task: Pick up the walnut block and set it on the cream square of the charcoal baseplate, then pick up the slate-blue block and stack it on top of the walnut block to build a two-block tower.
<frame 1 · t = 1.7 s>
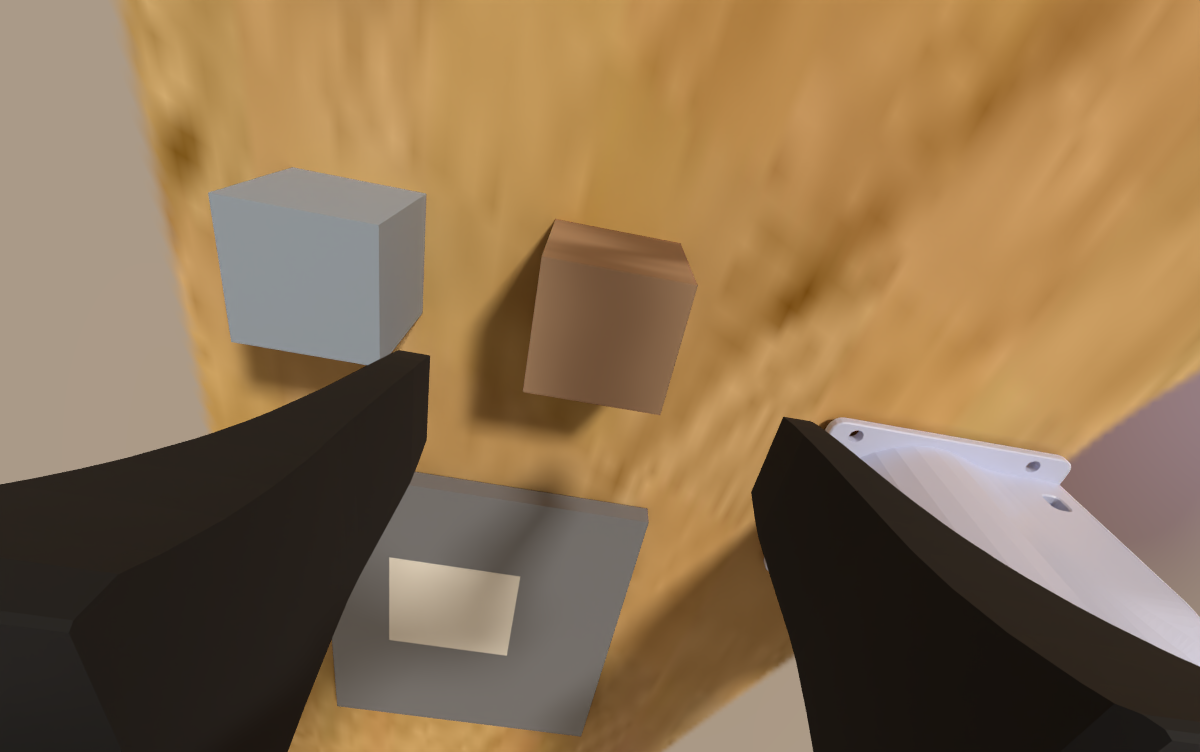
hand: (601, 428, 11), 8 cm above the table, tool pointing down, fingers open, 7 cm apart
walnut block: (606, 289, 18), on the table
baseplate: (475, 611, 26), on the table
slate block: (362, 244, 18), on the table
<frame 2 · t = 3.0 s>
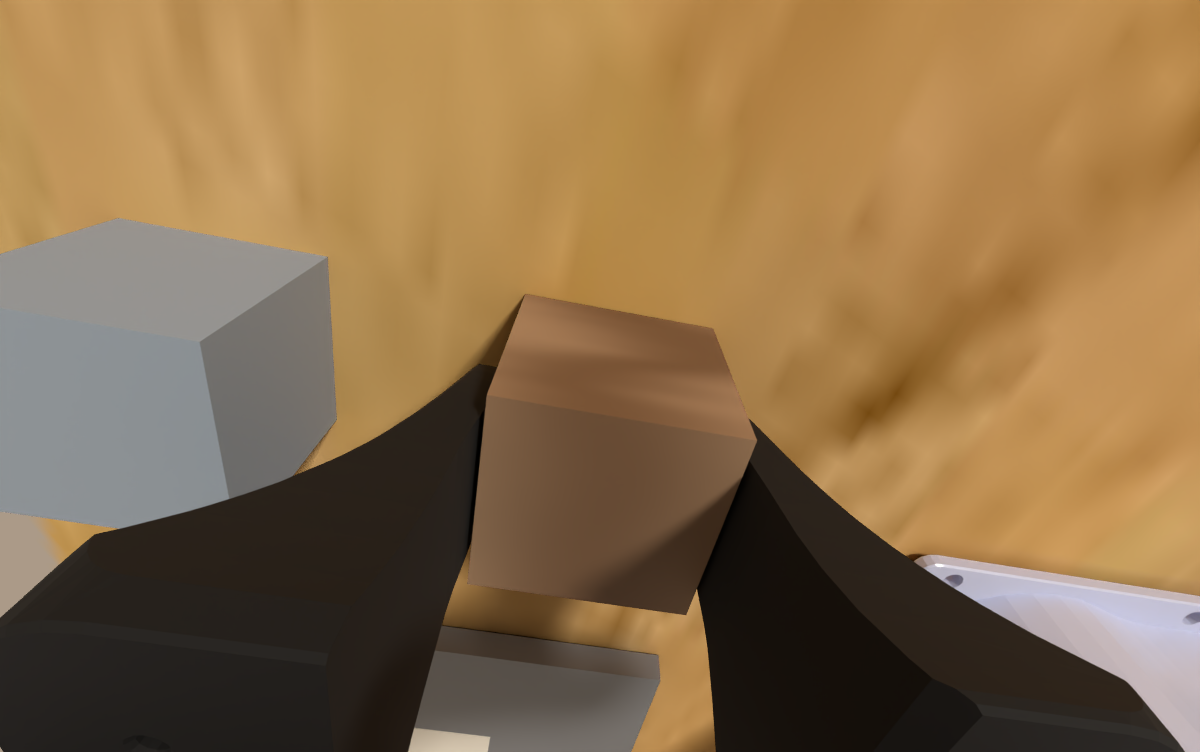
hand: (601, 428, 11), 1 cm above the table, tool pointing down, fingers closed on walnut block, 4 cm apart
walnut block: (602, 392, 12), on the table, touching gripper
slate block: (240, 326, 12), on the table
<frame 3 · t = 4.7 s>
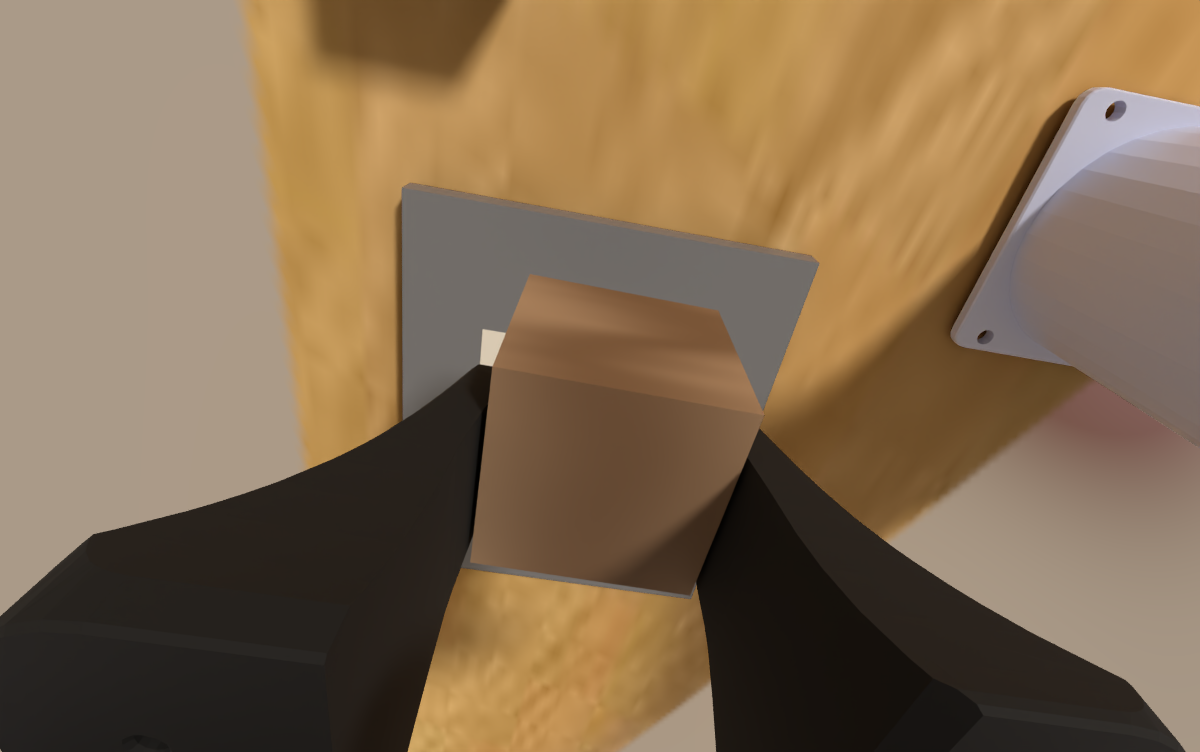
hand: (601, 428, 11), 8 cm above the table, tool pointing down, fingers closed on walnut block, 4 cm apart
walnut block: (606, 374, 12), point 7 cm above the table, touching gripper
baseplate: (577, 424, 21), on the table
when the fingers open (3 cm above the table, at t = 6.5 s): walnut block stays where it is, resting on baseplate.
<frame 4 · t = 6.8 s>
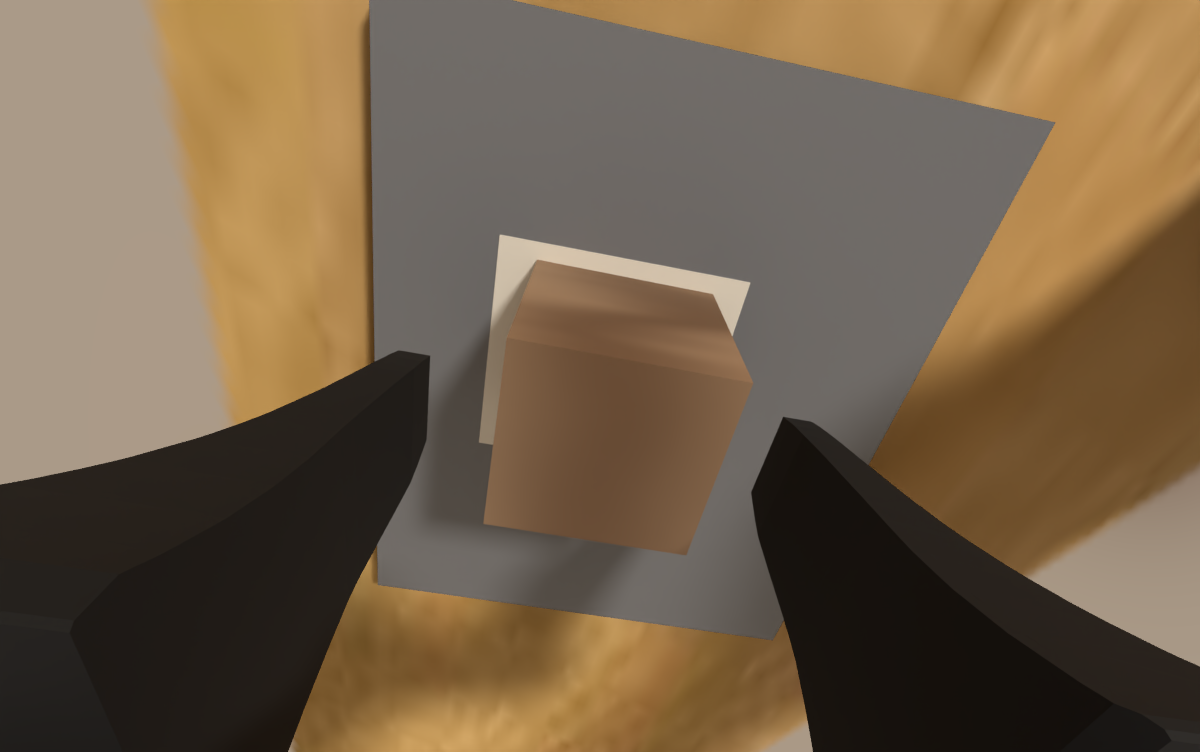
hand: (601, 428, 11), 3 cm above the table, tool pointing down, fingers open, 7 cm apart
walnut block: (608, 355, 13), point 1 cm above the table, touching baseplate
baseplate: (633, 393, 15), on the table
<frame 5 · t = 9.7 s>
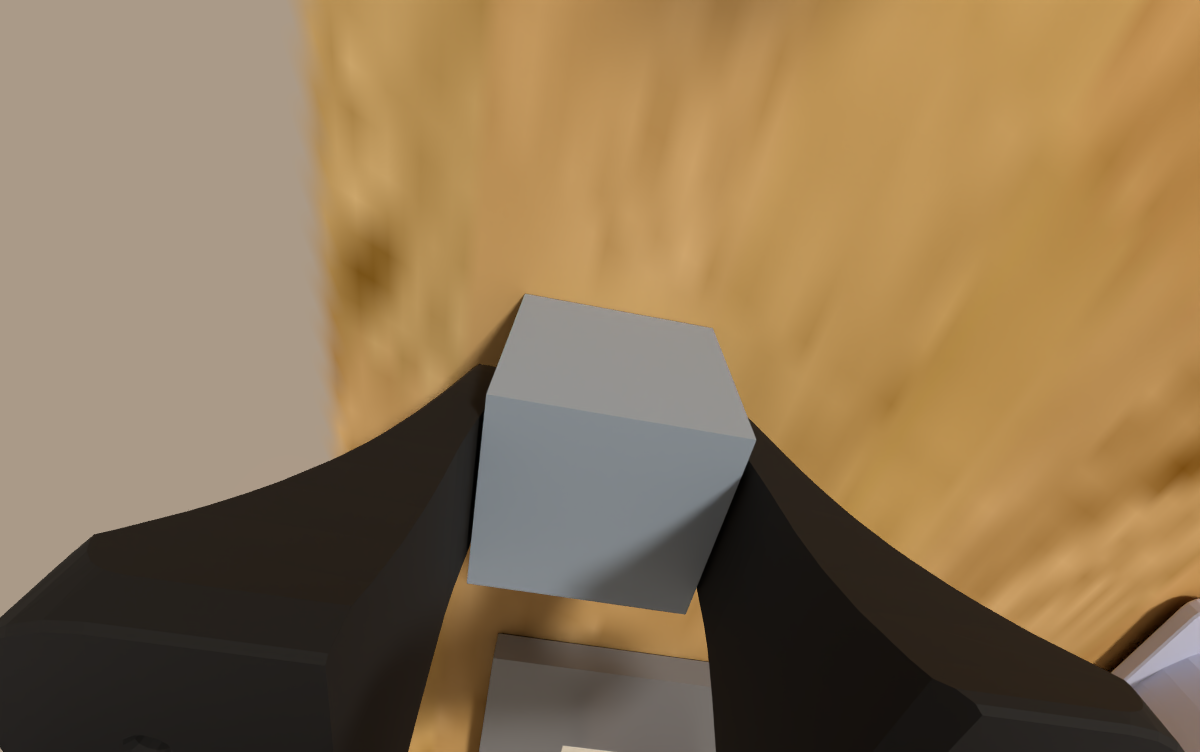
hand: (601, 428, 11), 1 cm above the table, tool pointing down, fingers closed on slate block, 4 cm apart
slate block: (602, 391, 12), on the table, touching gripper
when the fingers open (7 cm above the table, at t = 12.7 s): slate block stays where it is, resting on walnut block.
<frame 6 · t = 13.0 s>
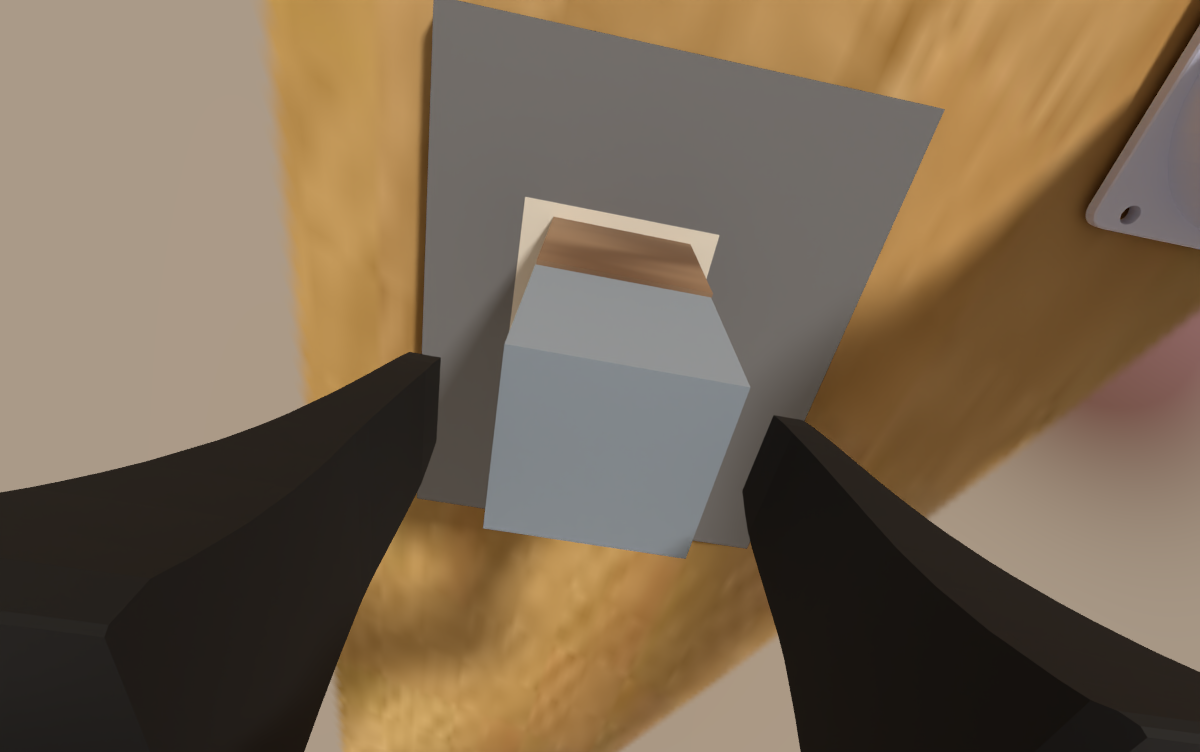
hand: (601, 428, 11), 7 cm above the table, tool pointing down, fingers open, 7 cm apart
walnut block: (608, 295, 17), point 1 cm above the table, touching baseplate, slate block
baseplate: (628, 331, 18), on the table
slate block: (606, 359, 13), point 5 cm above the table, touching walnut block
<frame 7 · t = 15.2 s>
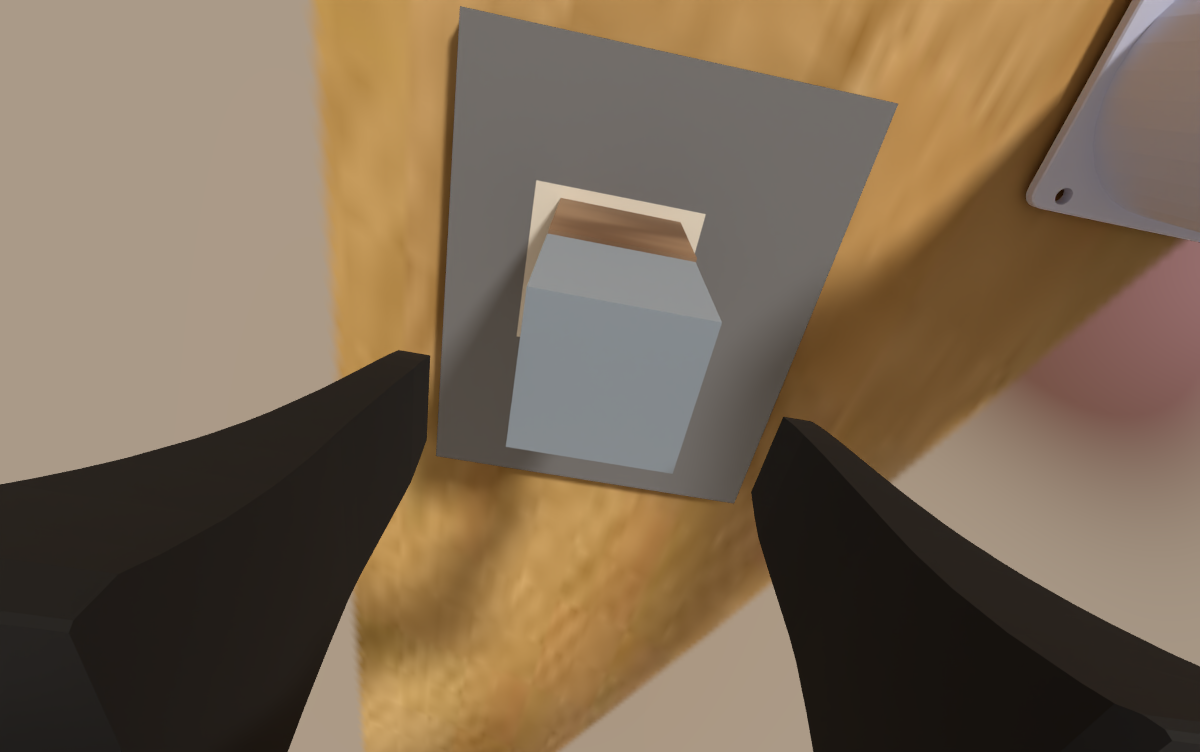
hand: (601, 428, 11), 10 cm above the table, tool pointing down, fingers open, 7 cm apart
walnut block: (608, 268, 19), point 1 cm above the table, touching baseplate, slate block
baseplate: (626, 301, 20), on the table
slate block: (607, 316, 15), point 5 cm above the table, touching walnut block
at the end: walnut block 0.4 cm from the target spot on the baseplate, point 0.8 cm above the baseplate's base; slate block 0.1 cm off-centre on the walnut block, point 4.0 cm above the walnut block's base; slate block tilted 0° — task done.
